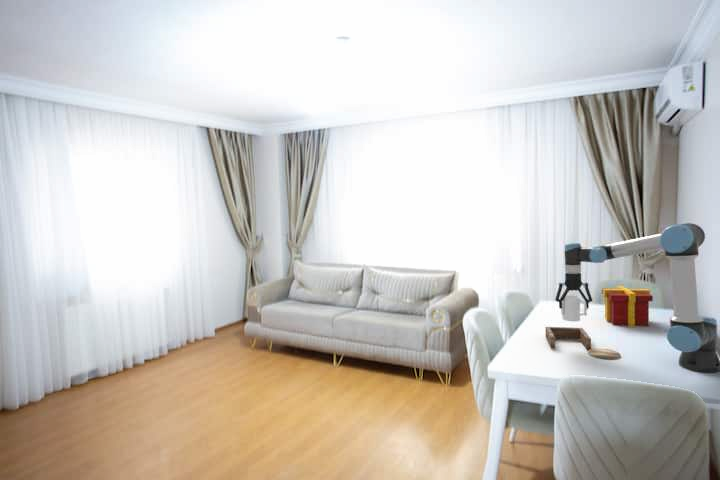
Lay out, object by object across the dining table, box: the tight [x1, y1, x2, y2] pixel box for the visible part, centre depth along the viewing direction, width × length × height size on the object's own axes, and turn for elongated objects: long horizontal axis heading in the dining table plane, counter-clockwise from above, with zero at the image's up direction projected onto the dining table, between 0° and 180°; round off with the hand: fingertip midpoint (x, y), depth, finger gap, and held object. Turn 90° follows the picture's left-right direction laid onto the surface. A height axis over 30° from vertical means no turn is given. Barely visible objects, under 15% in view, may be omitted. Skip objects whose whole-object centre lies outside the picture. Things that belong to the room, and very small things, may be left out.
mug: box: [561, 295, 588, 322], centre depth 230 cm, size 12×8×12 cm
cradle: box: [545, 326, 592, 351], centre depth 238 cm, size 20×19×6 cm
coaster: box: [587, 347, 621, 360], centre depth 218 cm, size 14×14×1 cm
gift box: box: [601, 285, 654, 328], centre depth 274 cm, size 25×25×20 cm
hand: (573, 314), depth 231 cm, fingers closed on mug, 10 cm apart
